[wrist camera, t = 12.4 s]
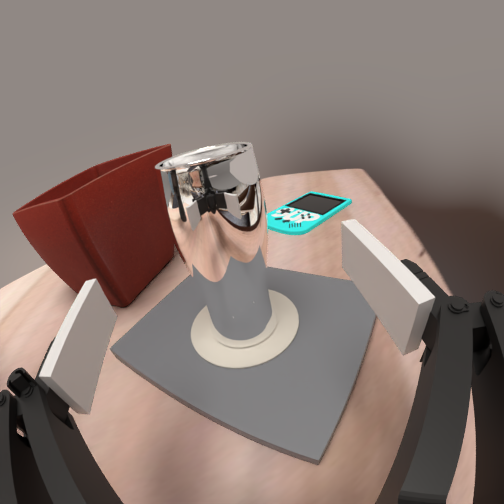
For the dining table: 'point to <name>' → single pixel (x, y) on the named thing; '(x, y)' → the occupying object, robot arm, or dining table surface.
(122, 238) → the plant pot
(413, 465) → the robot arm
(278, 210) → the handheld game console
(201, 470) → the dining table surface
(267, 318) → the beer glass
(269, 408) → the serving board
